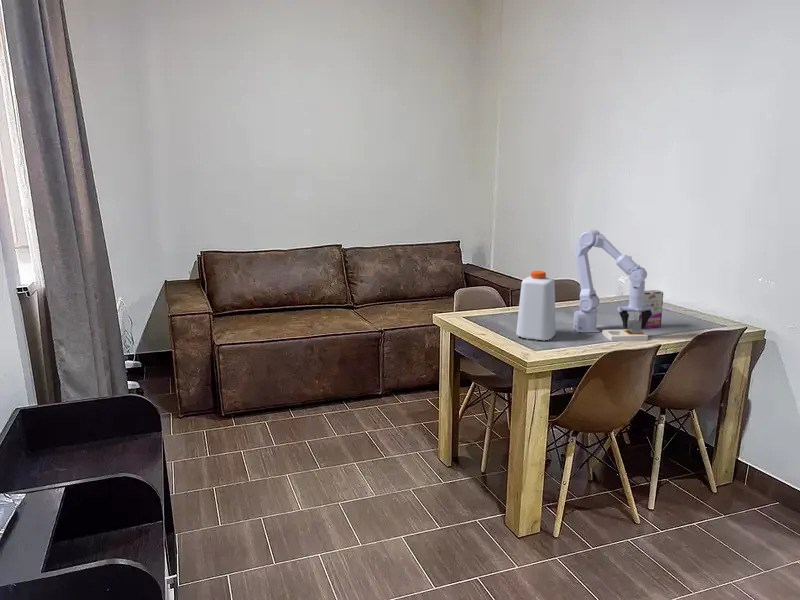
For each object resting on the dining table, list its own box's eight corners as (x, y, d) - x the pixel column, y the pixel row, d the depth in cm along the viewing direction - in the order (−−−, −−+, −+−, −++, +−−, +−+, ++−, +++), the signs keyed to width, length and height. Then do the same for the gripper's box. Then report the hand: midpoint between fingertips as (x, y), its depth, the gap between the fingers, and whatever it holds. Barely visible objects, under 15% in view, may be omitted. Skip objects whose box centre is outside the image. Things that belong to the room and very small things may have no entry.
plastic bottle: (549, 343, 248) (552, 276, 242) (513, 338, 255) (515, 273, 248) (557, 333, 261) (560, 270, 255) (523, 329, 268) (525, 267, 261)
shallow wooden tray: (611, 341, 249) (611, 336, 249) (602, 334, 259) (602, 329, 258) (647, 340, 250) (648, 335, 249) (637, 333, 260) (637, 328, 259)
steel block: (630, 338, 252) (632, 322, 251) (627, 336, 256) (628, 320, 255) (640, 338, 252) (641, 322, 251) (636, 335, 256) (637, 320, 255)
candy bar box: (654, 324, 273) (657, 289, 269) (661, 327, 268) (664, 291, 265) (632, 326, 271) (634, 290, 267) (638, 329, 266) (641, 293, 262)
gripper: (623, 299, 246) (621, 331, 249) (658, 298, 247) (655, 330, 250) (616, 295, 253) (614, 326, 256) (650, 294, 254) (647, 325, 257)
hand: (634, 328), depth 254 cm, fingers open, 7 cm apart
